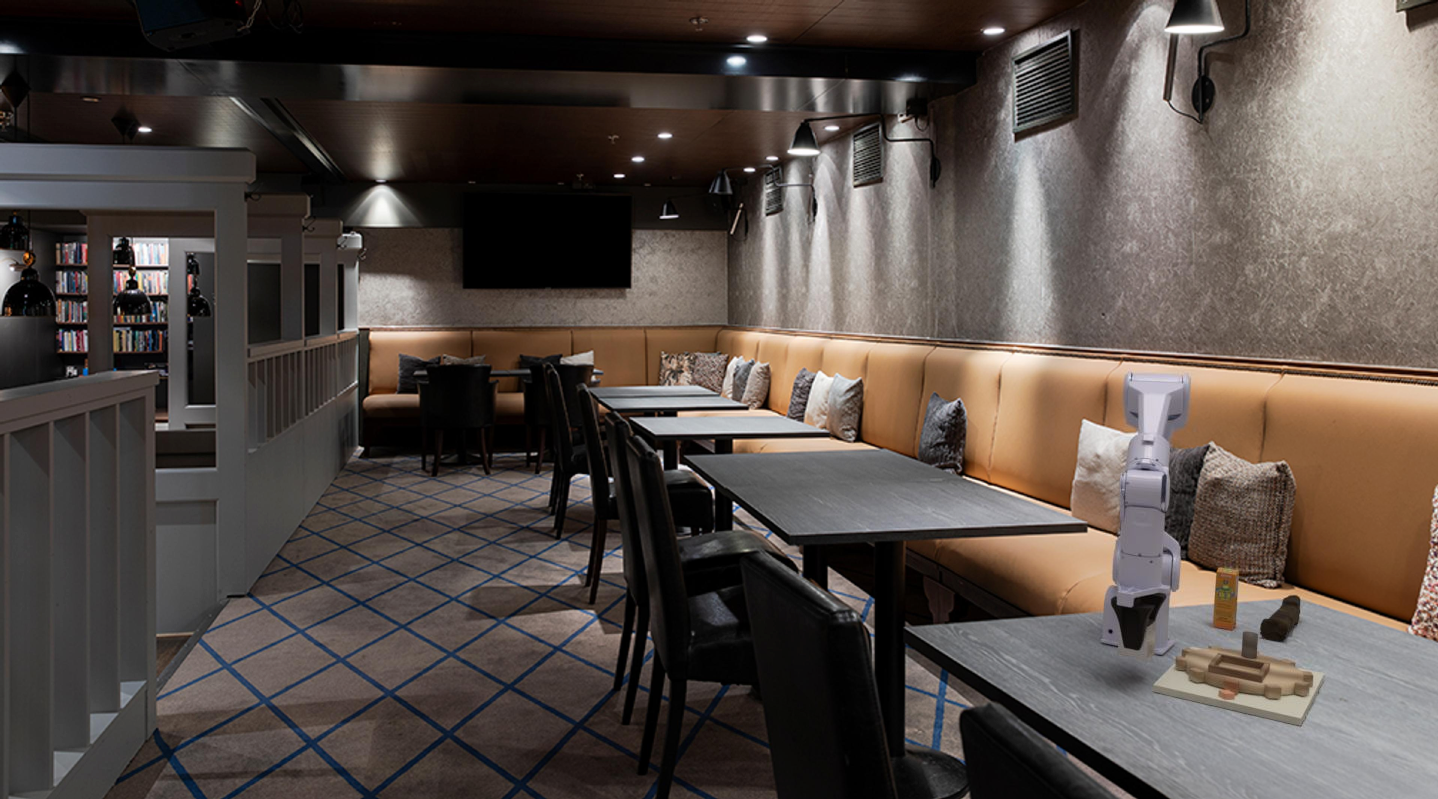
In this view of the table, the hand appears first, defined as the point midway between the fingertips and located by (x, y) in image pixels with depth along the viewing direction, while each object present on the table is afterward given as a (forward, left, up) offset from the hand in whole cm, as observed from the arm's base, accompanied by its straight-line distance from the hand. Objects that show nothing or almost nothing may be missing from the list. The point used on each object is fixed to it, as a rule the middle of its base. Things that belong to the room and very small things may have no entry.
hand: (1136, 644), depth 141 cm
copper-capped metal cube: (0, 0, -1) cm, 1 cm away
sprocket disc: (+13, +8, -4) cm, 15 cm away
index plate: (+13, +7, -5) cm, 15 cm away
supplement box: (+5, +37, -5) cm, 38 cm away
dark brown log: (+12, +43, -5) cm, 45 cm away
